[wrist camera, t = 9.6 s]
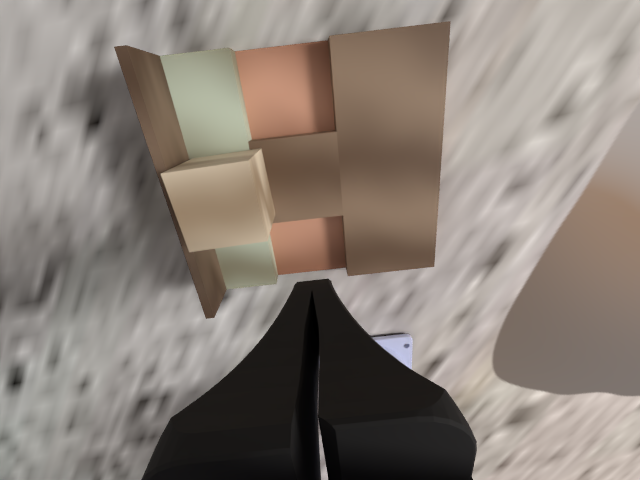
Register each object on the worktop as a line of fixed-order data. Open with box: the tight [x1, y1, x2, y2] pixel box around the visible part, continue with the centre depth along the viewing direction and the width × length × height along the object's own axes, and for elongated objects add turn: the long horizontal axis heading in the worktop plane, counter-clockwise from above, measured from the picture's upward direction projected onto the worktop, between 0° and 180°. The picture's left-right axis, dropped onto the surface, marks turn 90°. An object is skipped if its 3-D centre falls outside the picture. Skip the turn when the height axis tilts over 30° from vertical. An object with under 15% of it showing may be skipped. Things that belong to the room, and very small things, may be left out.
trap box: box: [114, 22, 450, 319], centre depth 17 cm, size 14×15×4 cm
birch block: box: [161, 148, 275, 252], centre depth 16 cm, size 4×4×4 cm
